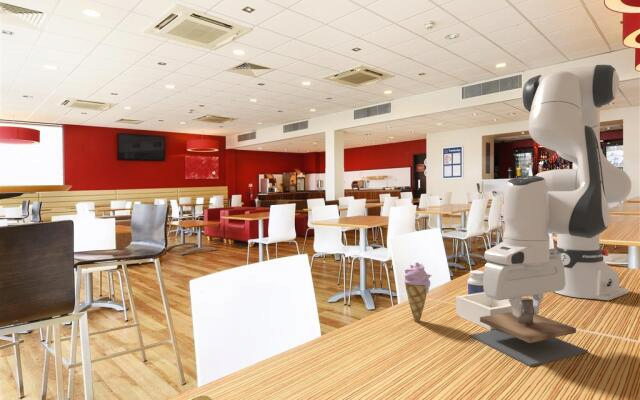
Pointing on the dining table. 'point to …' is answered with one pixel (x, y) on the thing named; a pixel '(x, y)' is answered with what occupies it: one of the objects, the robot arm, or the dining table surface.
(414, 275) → the ice cream cone
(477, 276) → the pill bottle
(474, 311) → the dish
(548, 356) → the mat
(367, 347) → the dining table surface
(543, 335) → the lid
